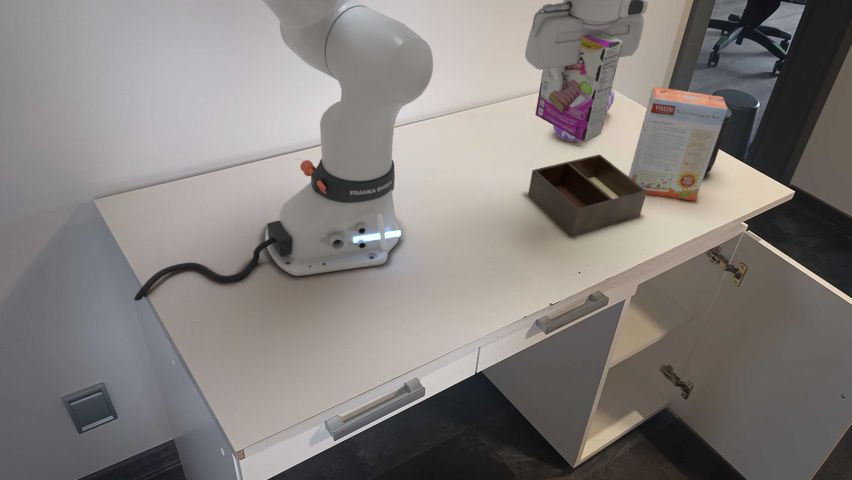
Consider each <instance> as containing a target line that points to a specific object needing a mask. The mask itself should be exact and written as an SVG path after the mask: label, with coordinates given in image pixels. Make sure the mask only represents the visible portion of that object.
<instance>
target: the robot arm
mask: <svg viewBox="0 0 852 480" xmlns="http://www.w3.org/2000/svg"><path fill="white" fill-rule="evenodd" d="M262 2H263V3H264V4H265V5H266V6H267V7H268V8H269V10H270V11H271V12H272V13H273V15H275V17H276V18H277V20H278V21H279V31H280V35H281V38H282V40H283V42H284V44H285V45H286V47H288V48H289V49H290V50H291V52H293V53H294V54H295V55H296V56H297V57H298V58H299V59H300V60H302V61H303V62H304V63H306V64H307V65H308V66H309V67H311V68H312V69H315V70H317V71H319V72H321V73H322V74H325V75H326V76H329V77H330V78H332V79H334V80H336V81H337V82H338V84H339V86H340V90H341V93H340V100H339V101H336V102H335V103H333V104H332V105H330V106H329V107H327V109H326V110H325V111H324V113H323V114H322V115H321V118H320V120H319V132H320V133H319V134H320V148H321V149H320V150H321V158H320V160H319V163H318V164H317V166H315V165H314V164H313V162H312V161H311V160H309V159H305V160H303V161H301V163H300V166H299V168H300V170H301V171H302V172H303V174H304V176H307V177H310V182H309V183H308V184H305V186H304V187H302V189H300V190H299V191H298V192H296V193H295V194H294V195H292V196H291V197H290V198H289V199H287V200H285V202H283V203H282V205H281V207H280V209H279V213H278V219H277V220H276V221H271V222H268V223H267V222H266V229H265V233H264V234H265V235H264V238H265V239H264V241H262V242H261V243H259V244H258V245H257V246H256V247H255V249H254V250H253V254H252V255H253V256H252V258H251V260H250V261H249V263H248V264H247V265H246V267H245V268H244V269H242V271H239V272H238V273H235V274H230V275H221V274H219V273H216V272H215V271H213V270H212V269H210V268H209V267H208V266H205V265H203V264H201V263H197V262H183V263H178V264H173V265H170V266H166V267H165V268H162V269H161V270H159V271H157V272H155V273H154V274H153V275H152V276H151V277H150V278H149V279H148V280H147V281H146V282H145V283H144V284H143V285H142V286H141V288H140V289H139V290H138V292H137V293H136V295H135V296H134V298H133V299H134V301H136V302H137V301H142V299H143V298H144V297H145V296H146V294H147V292H149V290H150V289H151V288H152V287H153V286H154V284H156V283H157V282H158V281H159V280H160V279H162V278H163V277H165V276H166V275H168V274H171V273H174V272H177V271H182V270H188V269H192V270H198V271H199V272H201V273H203V274H205V276H208V277H209V278H211V279H213V280H215V281H217V282H218V281H219V282H225V283H228V282H235V281H238V280H241V279H244V278H245V277H247V276H248V275H249V273H251V271H252V270H253V269H254V268H255V266H256V265H257V264H258V262H259V260H260V257H261V252H262V251H264V249H266V250H267V252H268V253H269V255H270V257H271V258H272V260H273V261H274V263H275V264H276V265H277V266H278V267H279V268H280V269H281V270H283V271H284V272H286V273H288V274H289V275H292V276H295V277H301V276H310V275H317V274H324V273H331V272H338V271H344V270H351V269H352V270H353V269H359V268H366V267H373V266H380V265H384V264H385V263H386V262H387V260H388V257H389V253H390V251H391V250H392V249H393V248H395V246H396V245H397V243H398V242H399V240H400V237H401V235H402V232H401V229H400V227H399V224H398V222H397V221H398V220H397V217H396V213H395V206H394V198H393V197H394V196H393V191H394V190H395V180H396V179H395V178H396V175H395V162H394V160H393V145H394V131H395V125H396V124H395V123H396V120H397V118H398V115H399V113H400V111H401V109H402V108H403V107H404V106H406V105H408V104H410V103H412V102H414V101H416V100H417V99H418V98H419V97H420V96H422V94H423V93H424V92H425V91H426V89H427V88H428V86H429V84H430V82H431V80H432V76H433V71H434V56H433V52H432V49H431V47H430V45H429V43H428V42H427V41H426V40H425V39H424V38H422V37H421V36H420V35H419V34H418V33H416V32H415V31H414V30H412V29H411V28H410V27H409V26H407V25H406V24H405V23H403V22H401V21H399V20H397V19H394V18H392V17H390V16H388V15H386V14H383V13H381V12H379V11H376V10H374V9H372V8H371V7H369V6H366V5H364V4H363V3H362V2H360V1H359V0H262ZM648 6H649V2H648V0H562V2H558V3H554V4H553V3H547V4H544V5H542V8H539V10H537V11H536V12H535V13H534V14H533V18H532V24H531V27H530V31H529V35H528V38H527V42H526V47H525V52H524V57H525V59H526V61H527V62H528V64H530V65H531V66H532V67H533V68H534V69H536V70H538V71H539V70H540V71H541V70H542V71H543V69H548V68H550V70H551V73H552V75H553V77H554V79H553V85H552V86H553V89H555V90H556V91H562V90H565V89H566V85H567V80H566V79H564V78H563V77H562V74H561V72H564V69H565V66H568V65H574V64H577V63H578V60H579V55H580V50H581V45H582V41H583V40H581V39H582V37H583V36H587V35H594V34H603V33H606V34H608V35H610V36H613V37H615V38H617V39H619V40H621V41H623V43H622V47H621V52H620V56H619V58H625V57H631V56H633V55H634V54H635V52H636V51H637V50H638V48H639V46H640V43H641V39H642V36H643V35H642V34H643V29H644V23H645V17H644V16H643V15H645V13H646V12H647V10H648Z"/></svg>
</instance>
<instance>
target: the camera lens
mask: <svg viewBox="0 0 852 480" xmlns="http://www.w3.org/2000/svg"><path fill="white" fill-rule="evenodd" d="M727 109H728V110H727V113H726V115H725V118H724V121H723V124H722V126H721V129H720V132H719V135H718V138H717V141H716V144H715V147H714V149H713V152H712V155H711V158H710V161H709V164H708V166H707V169H706V172H705V175H704V178H703V179H705V178H707V176H708V174H709V172H711V171H712V169H713V166H714V164H715V163H716V159H717V157H718V153H719V150H720V148H721V145H722V143H723V139H724V138H725V135H726V134H727V130H728V128H729V125H730V123H731V120H732V119H731V118H732V117H731V116H732V111H731V109H730V108H728V107H727Z"/></svg>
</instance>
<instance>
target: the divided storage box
mask: <svg viewBox="0 0 852 480" xmlns="http://www.w3.org/2000/svg"><path fill="white" fill-rule="evenodd" d="M647 195H648V194H647V191H646V190H644V189H643V188H642V187H641V186H639V185H638V184H637V183H635V182H634V181H633V180H632V179H630V178H629V175H627V174H625V173H624V172H623V171H622V170H620V169H619V168H618V167H617V166H615V165H614V163H611V161H609V160H608V159H606V158H605V157H604V156H603V155H601V154H595V155H591V156H586V157H583V158H578V159H574V160H570V161H564V162H560V163H556V164H552V165H548V166H544V167H539V168H535V169H532V171H531V177H530V182H529V187H528V195H527V196H529V198H530V199H531V200H532V201H534V202H535V203H536V205H538V206H539V207H540V208H541V209H542V210H543V211H544V212H545V213H546V214H547V215H549V216H550V218H552V219H553V220H554V221H555V222H556V223H557V224H558V225H559V226H560V227H561V228H562V229H563V230H564V231H565V232H566V233H568V235H570V236H571V237H575V236H579V235H582V234H585V233H588V232H593V231H595V230H598V229H601V228H605V227H609V226H612V225H615V224H618V223H622V222H625V221H628V220H632V219H635V218H638V217H640V216H641V213H642V209H643V207H644V203H645V200H646V197H647Z"/></svg>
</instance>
